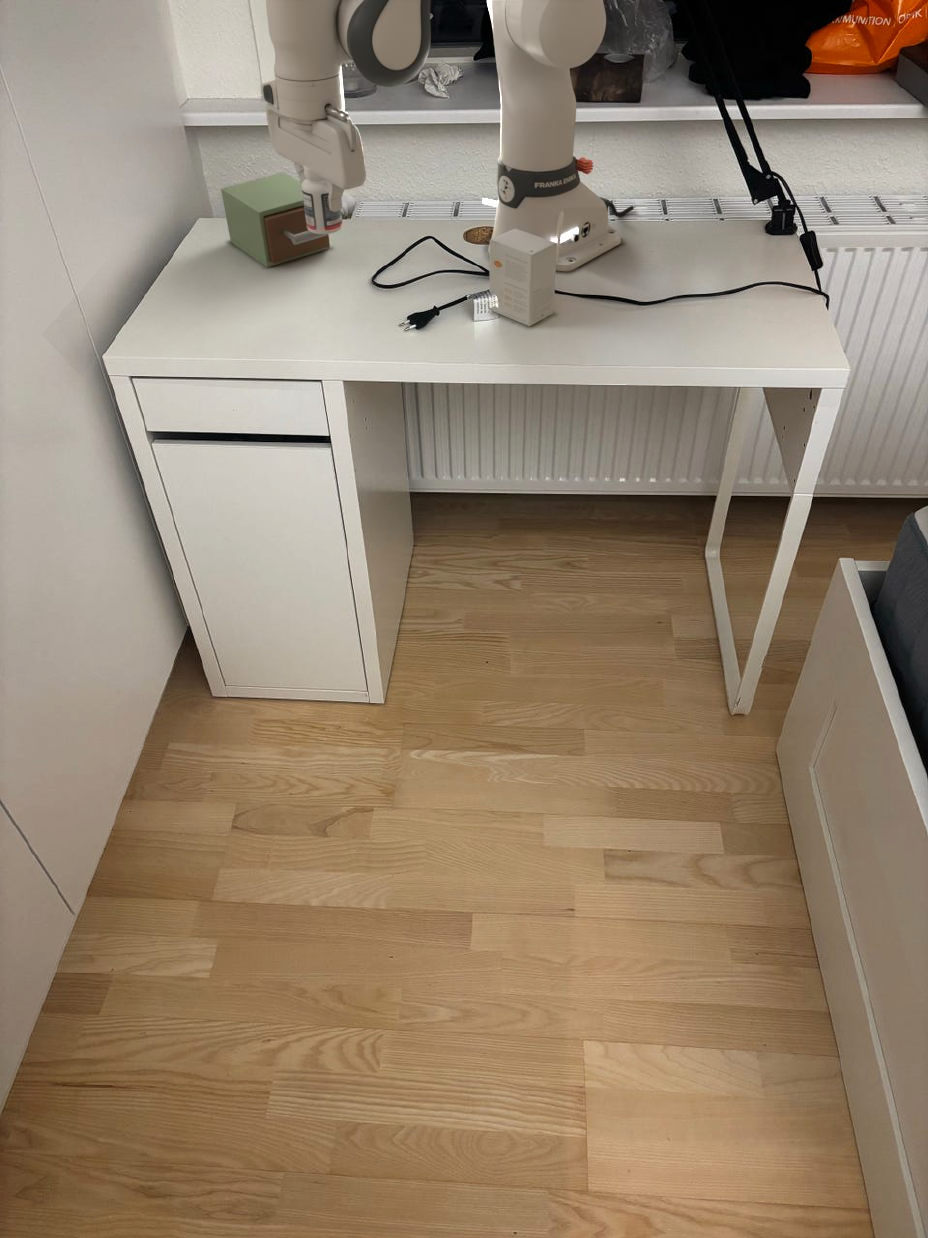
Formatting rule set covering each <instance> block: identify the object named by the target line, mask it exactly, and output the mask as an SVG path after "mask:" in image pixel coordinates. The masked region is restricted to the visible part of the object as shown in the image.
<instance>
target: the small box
mask: <svg viewBox="0 0 928 1238" xmlns="http://www.w3.org/2000/svg"><path fill="white" fill-rule="evenodd" d="M491 238H492V237H491ZM489 246H490V247H489ZM489 246H488V248H489V252H488V254H489V257H488V258H489V262H488V263H489V264H488V267H489V268H488V270H489V272H488V273H489V274H488V275H489V276H488V277H489V290H488V291H491V292H493V293H494V294H495V295H496V296H497V298H498V302H499V308H497V307H492V308H489V310H490V311H491V312H494V313H496V314H498V315H501V316H503V317H506V318H508V319H510V320H513V321H516V322H518V323H520V324H522V325H525V326H527V327H532V326H533V325H535V324H537V323H538V322H540V321H542V320H543V319H544V320H545V318H547V317H549V316H551V315H553V314H554V312H555V295H556V293H555V292H556V288H555V287H556V273H557V270H556V251H557V243H556V242H553V241H550V240H547V239H544V238H542V237H539V236H536V235H533V234H530V233H527V232H524V231H521V230H518V229H513V230H510V231H508V232H506V233H504V234H501V235H499V236H497V237H495V238H492V239H489Z"/></svg>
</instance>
